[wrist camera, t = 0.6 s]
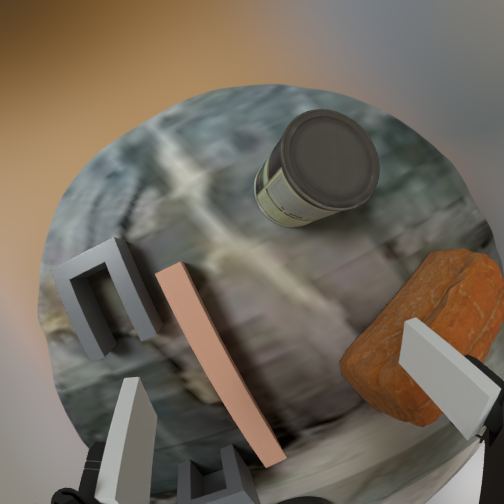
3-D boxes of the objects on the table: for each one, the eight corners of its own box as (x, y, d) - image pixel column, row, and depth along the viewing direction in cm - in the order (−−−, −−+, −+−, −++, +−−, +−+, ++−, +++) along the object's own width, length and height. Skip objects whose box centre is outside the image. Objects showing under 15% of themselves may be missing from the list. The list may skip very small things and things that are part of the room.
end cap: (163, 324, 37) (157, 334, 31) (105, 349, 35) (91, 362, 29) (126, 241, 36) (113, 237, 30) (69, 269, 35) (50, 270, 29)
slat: (274, 433, 39) (286, 458, 32) (255, 441, 38) (266, 467, 31) (183, 262, 38) (180, 261, 31) (162, 272, 37) (154, 273, 30)
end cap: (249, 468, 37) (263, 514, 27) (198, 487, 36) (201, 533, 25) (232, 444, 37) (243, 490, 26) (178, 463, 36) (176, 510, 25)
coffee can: (245, 161, 39) (269, 112, 26) (314, 151, 41) (361, 107, 27) (263, 235, 39) (298, 220, 25) (333, 220, 41) (391, 201, 27)
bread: (463, 298, 46) (525, 304, 31) (373, 411, 42) (429, 451, 27) (433, 241, 45) (501, 233, 30) (328, 360, 40) (386, 399, 26)
